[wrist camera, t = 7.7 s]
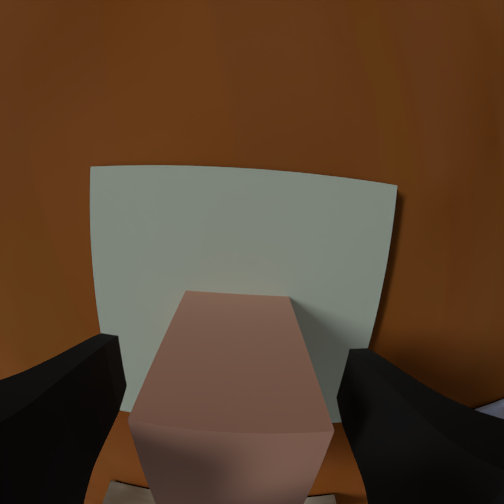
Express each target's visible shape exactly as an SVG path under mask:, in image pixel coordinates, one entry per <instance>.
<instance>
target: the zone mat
mask: <svg viewBox="0 0 504 504" xmlns="http://www.w3.org/2000/svg"><path fill="white" fill-rule="evenodd" d="M396 195H397V185H391V184H384V183H378V182H371V181H364V180H357V179H350V178H342V177H334V176H326V175H317V174H308V173H298V172H287V171H275V170H263V169H248V168H231V167H209V166H169V165H137V166H98V167H91V173H90V228H91V249H92V264H93V275H94V285H95V294H96V303H97V310H98V317H99V324H100V330H101V333H104V334H110V335H117V336H118V337H119V344H120V350H121V357H122V362H123V368H124V373H125V379H126V384H127V387H126V391H125V394H124V397H123V401H122V404H121V407H120V410H122V411H127V412H131V411H132V408H133V406H134V403H135V401H136V399H137V396H138V394H139V392H140V389H141V387H142V385H143V383H144V380H145V378H146V376H147V373H148V371H149V369H150V367H151V364H152V362H153V360H154V358H155V355H156V353H157V351H158V349H159V347H160V344H161V342H162V340H163V338H164V336H165V333H166V331H167V329H168V327H169V325H170V323H171V321H172V318H173V316H174V314H175V312H176V310H177V308H178V306H179V304H180V301H181V299H182V297H183V295H184V293H185V291H186V290H187V291H201V292H215V293H231V294H248V295H268V296H289V299H290V302H291V305H292V307H293V310H294V313H295V316H296V319H297V322H298V325H299V327H300V330H301V333H302V336H303V339H304V342H305V345H306V348H307V351H308V353H309V356H310V359H311V362H312V365H313V368H314V371H315V374H316V377H317V380H318V383H319V386H320V389H321V392H322V395H323V398H324V401H325V404H326V407H327V410H328V413H329V416H330V419H331V422H332V423H337V422H341V417H340V413H339V408H338V403H337V398H336V397H337V393H338V390H339V387H340V383H341V379H342V376H343V372H344V369H345V365H346V361H347V357H348V353H349V349H360V348H368V346H369V342H370V338H371V334H372V330H373V326H374V322H375V318H376V314H377V310H378V305H379V301H380V296H381V291H382V286H383V281H384V276H385V271H386V266H387V260H388V254H389V248H390V241H391V235H392V228H393V220H394V212H395V204H396Z"/></svg>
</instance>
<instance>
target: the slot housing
mask: <svg viewBox="0 0 504 504" xmlns="http://www.w3.org/2000/svg"><path fill="white" fill-rule="evenodd" d="M103 504H155V501H154V499H153V496H152V493H151V491H150V489H145V488H140V487H135V486H131V485H127V484H122V483H118V482H115V481H110V484H109V487H108V490H107V493H106V495H105V498H104V501H103ZM304 504H336V500H335V496H334V494H333V495H325V496H317V497H307V498H306V500H305V502H304Z"/></svg>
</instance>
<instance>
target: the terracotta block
mask: <svg viewBox="0 0 504 504" xmlns="http://www.w3.org/2000/svg"><path fill="white" fill-rule="evenodd" d="M128 423H129V426H130V430H131V433H132V437H133V440H134V444H135V447H136V450H137V453H138V457H139V460H140V463H141V466H142V469H143V472H144V474H145V477H146V480H147V483H148V485H149V488H150V491H151V493H152V496H153V499H154V501H155V504H304V502H305V500H306V498H307V496H308V494H309V492H310V489H311V487H312V485H313V483H314V480H315V478H316V476H317V473H318V471H319V469H320V466H321V464H322V461H323V459H324V457H325V454H326V451H327V449H328V446H329V444H330V441H331V438H332V436H333V433H334V428H333V425H332V422H331V419H330V416H329V413H328V410H327V407H326V404H325V401H324V398H323V395H322V392H321V389H320V386H319V383H318V380H317V377H316V374H315V371H314V368H313V365H312V362H311V359H310V356H309V353H308V351H307V348H306V345H305V342H304V339H303V336H302V333H301V330H300V327H299V325H298V322H297V319H296V316H295V313H294V310H293V307H292V305H291V302H290V299H289V296H268V295H248V294H231V293H215V292H201V291H187V290H186V291H185V293H184V295H183V297H182V299H181V301H180V304H179V306H178V308H177V310H176V312H175V314H174V316H173V318H172V321H171V323H170V325H169V327H168V329H167V331H166V333H165V336H164V338H163V340H162V342H161V344H160V347H159V349H158V351H157V353H156V355H155V358H154V360H153V362H152V364H151V367H150V369H149V371H148V373H147V376H146V378H145V380H144V383H143V385H142V387H141V389H140V392H139V394H138V396H137V399H136V401H135V403H134V406H133V408H132V411H131V413H130V415H129V418H128Z"/></svg>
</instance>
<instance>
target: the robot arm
mask: <svg viewBox="0 0 504 504" xmlns="http://www.w3.org/2000/svg"><path fill="white" fill-rule="evenodd" d="M126 387H127V384H126V379H125V373H124V368H123V362H122V357H121V350H120V344H119V337H118V336H117V335H110V334H104V333H101V334H98V335H96V336H94V337H91V338H89V339H87V340H85V341H84V342H82V343H80V344H78V345H76V346H74V347H72V348H70V349H69V350H67V351H65V352H63V353H61V354H59V355H57V356H55V357H53V358H51V359H49V360H47V361H45V362H43V363H41V364H39V365H37V366H35V367H32V368H30V369H28V370H26V371H24V372H21V373H19V374H16V375H13V376H11V377H8V378H5V379H2V380H0V504H84V499H85V495H86V491H87V487H88V484H89V480H90V477H91V473H92V470H93V467H94V465H95V462H96V460H97V458H98V455H99V453H100V451H101V449H102V447H103V445H104V442H105V440H106V438H107V436H108V434H109V432H110V430H111V428H112V425H113V423H114V421H115V419H116V417H117V415H118V412H119V410H120V407H121V404H122V401H123V397H124V394H125V391H126ZM336 398H337V403H338V408H339V413H340V417H341V422H342V425H343V428H344V430H345V433H346V436H347V438H348V441H349V444H350V446H351V449H352V452H353V454H354V457H355V460H356V462H357V465H358V468H359V470H360V473H361V476H362V479H363V482H364V486H365V490H366V495H367V499H368V504H504V399H502V400H499V401H497V402H494V403H491V404H489V405H486V406H483V407H480V408H477V409H471V408H469V407H467V406H464V405H462V404H460V403H458V402H455V401H453V400H451V399H449V398H447V397H445V396H443V395H441V394H440V393H438V392H436V391H434V390H432V389H431V388H429V387H427V386H425V385H424V384H422V383H421V382H419V381H417V380H416V379H414V378H413V377H411V376H410V375H408V374H406V373H405V372H403V371H402V370H400V369H399V368H397V367H396V366H394V365H393V364H392V363H390V362H389V361H387V360H386V359H384V358H383V357H381V356H379V355H378V354H376V353H375V352H373V351H371V350H369V349H368V348H360V349H349V353H348V357H347V361H346V365H345V369H344V372H343V376H342V379H341V383H340V387H339V390H338V393H337V397H336Z"/></svg>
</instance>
